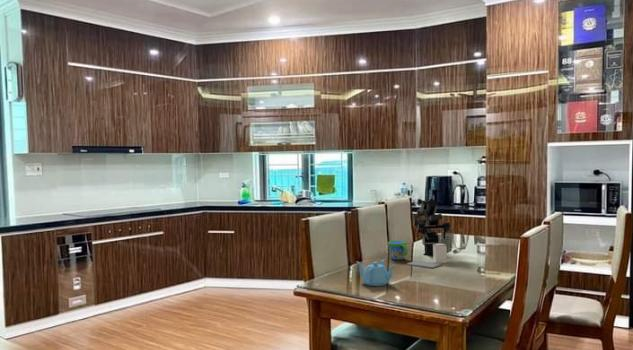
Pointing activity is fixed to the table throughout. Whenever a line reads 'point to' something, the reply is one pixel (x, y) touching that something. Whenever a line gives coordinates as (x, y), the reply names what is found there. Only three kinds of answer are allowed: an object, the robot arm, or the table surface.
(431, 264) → the mat
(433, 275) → the table surface
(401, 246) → the snack cup
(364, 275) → the teapot
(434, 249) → the cover
